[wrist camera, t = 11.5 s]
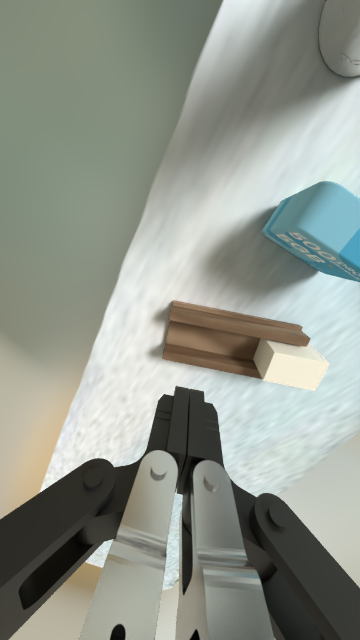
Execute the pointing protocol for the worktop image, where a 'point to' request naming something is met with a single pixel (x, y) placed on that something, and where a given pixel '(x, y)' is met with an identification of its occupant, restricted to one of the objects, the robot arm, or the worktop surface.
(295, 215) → the blue labeled box
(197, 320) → the walnut chute
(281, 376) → the sand block
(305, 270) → the worktop surface
